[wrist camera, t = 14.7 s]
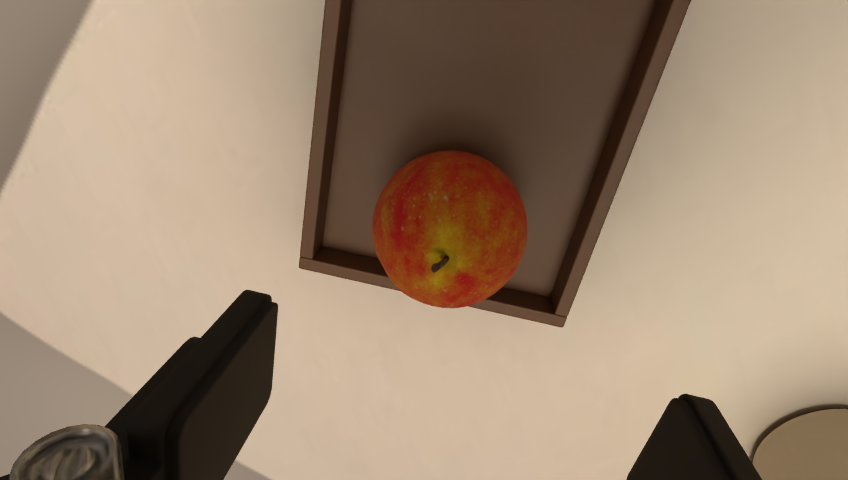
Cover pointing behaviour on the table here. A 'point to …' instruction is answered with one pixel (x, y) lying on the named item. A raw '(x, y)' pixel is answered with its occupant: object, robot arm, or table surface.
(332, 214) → the tray
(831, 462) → the travel mug
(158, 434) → the robot arm
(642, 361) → the table surface
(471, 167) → the fruit
